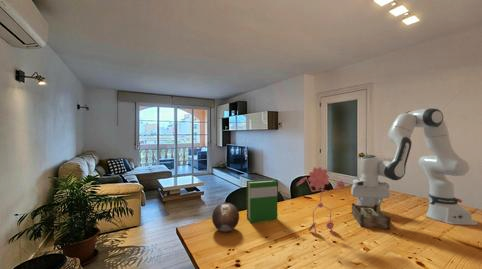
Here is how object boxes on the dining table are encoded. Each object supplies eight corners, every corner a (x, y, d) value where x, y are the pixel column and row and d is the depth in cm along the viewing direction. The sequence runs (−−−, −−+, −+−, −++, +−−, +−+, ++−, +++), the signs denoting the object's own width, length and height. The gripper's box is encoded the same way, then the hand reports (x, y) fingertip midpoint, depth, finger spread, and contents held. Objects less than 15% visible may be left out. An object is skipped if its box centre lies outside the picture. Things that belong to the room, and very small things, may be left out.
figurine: (349, 234, 110) (347, 168, 111) (302, 237, 107) (301, 169, 108) (333, 223, 125) (332, 164, 126) (291, 225, 123) (290, 165, 123)
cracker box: (373, 208, 149) (373, 179, 149) (380, 211, 143) (380, 181, 143) (356, 209, 146) (356, 180, 146) (362, 213, 140) (362, 182, 140)
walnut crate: (376, 215, 136) (376, 205, 135) (390, 229, 116) (390, 217, 116) (351, 213, 139) (351, 203, 139) (360, 226, 120) (360, 214, 119)
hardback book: (250, 223, 125) (250, 183, 125) (246, 218, 132) (246, 180, 132) (277, 219, 130) (277, 181, 130) (272, 215, 137) (272, 178, 137)
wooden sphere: (214, 238, 107) (214, 209, 107) (210, 226, 121) (210, 200, 121) (242, 234, 111) (242, 206, 111) (235, 223, 125) (235, 198, 125)
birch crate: (372, 216, 132) (372, 208, 132) (379, 224, 121) (379, 215, 121) (360, 215, 134) (360, 207, 134) (366, 223, 122) (366, 214, 122)
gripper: (386, 181, 128) (387, 203, 128) (350, 180, 133) (350, 201, 133) (391, 183, 122) (392, 207, 122) (352, 182, 127) (353, 205, 127)
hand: (370, 204), depth 128 cm, fingers open, 8 cm apart
